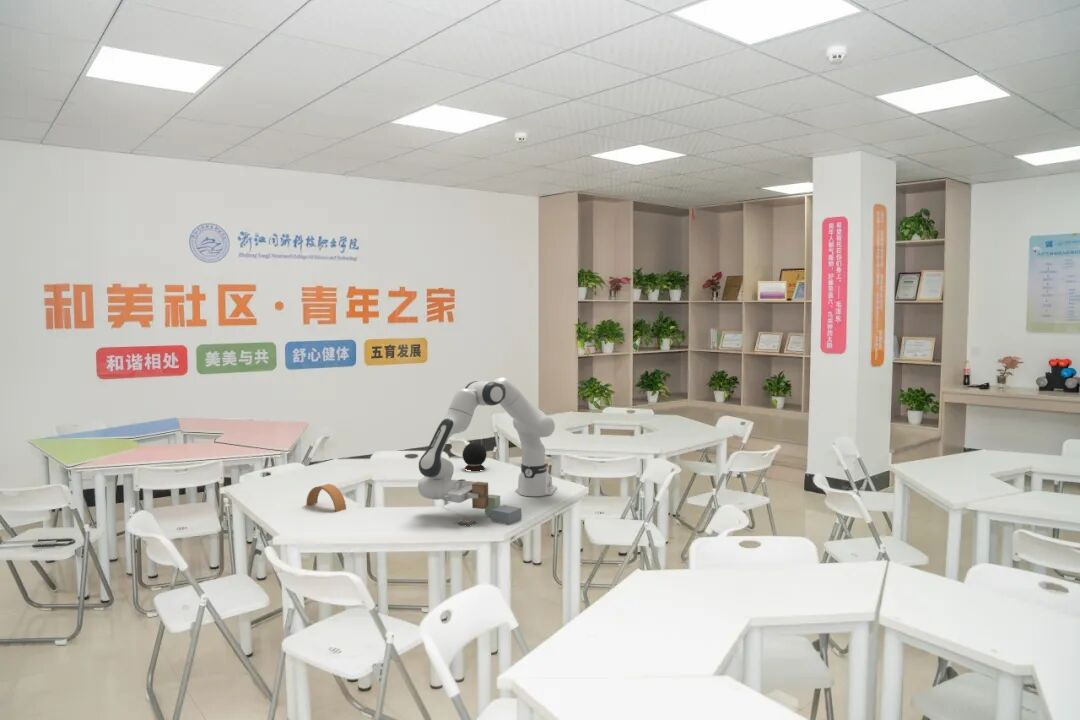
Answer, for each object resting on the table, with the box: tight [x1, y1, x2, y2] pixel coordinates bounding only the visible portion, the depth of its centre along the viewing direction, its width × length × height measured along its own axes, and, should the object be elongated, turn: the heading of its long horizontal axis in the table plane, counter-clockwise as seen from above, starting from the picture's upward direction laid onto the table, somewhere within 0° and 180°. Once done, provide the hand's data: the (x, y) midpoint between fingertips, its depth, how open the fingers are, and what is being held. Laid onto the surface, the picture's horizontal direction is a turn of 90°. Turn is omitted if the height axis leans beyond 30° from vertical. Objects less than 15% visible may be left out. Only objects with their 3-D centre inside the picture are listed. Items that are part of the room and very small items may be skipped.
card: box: [456, 518, 477, 527], centre depth 303 cm, size 6×6×1 cm
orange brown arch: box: [305, 483, 347, 513], centre depth 328 cm, size 6×20×10 cm, turn 55°
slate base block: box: [490, 504, 522, 525], centre depth 308 cm, size 9×9×5 cm
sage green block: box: [484, 494, 501, 517], centre depth 316 cm, size 5×5×8 cm
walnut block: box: [471, 481, 489, 510], centre depth 307 cm, size 5×5×10 cm
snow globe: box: [461, 442, 488, 472], centre depth 403 cm, size 13×13×15 cm
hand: (482, 494), depth 307 cm, fingers closed on walnut block, 5 cm apart
